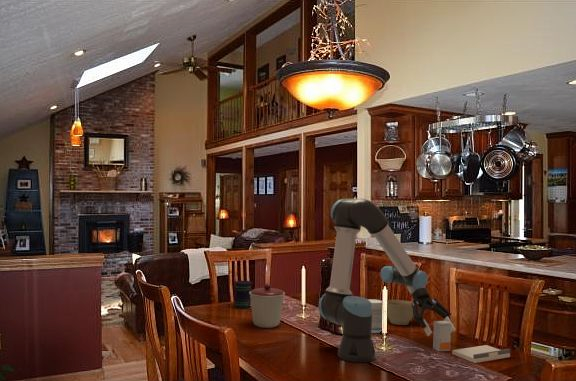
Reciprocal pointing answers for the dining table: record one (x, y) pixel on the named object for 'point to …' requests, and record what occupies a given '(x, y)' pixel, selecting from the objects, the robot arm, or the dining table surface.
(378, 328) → the supplement tub
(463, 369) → the dining table surface
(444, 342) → the skincare box
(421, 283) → the robot arm
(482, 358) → the flat cream box
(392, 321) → the planter bowl
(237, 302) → the storage jar
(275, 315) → the canister
